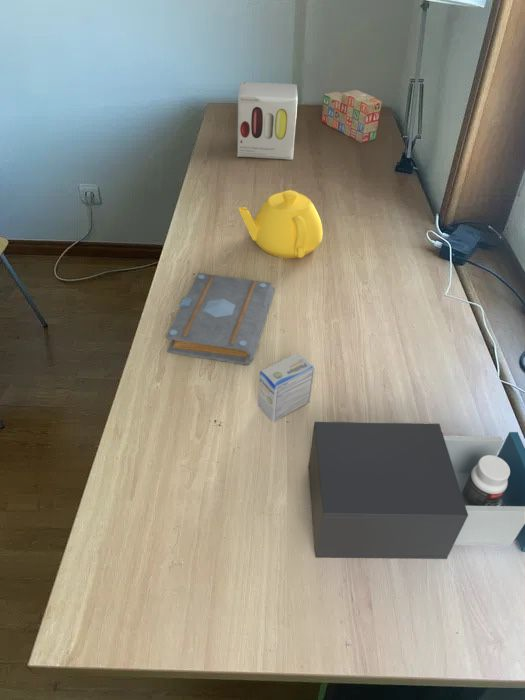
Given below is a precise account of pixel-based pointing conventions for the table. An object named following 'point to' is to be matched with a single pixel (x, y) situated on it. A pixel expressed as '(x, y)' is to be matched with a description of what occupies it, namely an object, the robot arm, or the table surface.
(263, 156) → the supplement box
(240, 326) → the book
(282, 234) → the teapot
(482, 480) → the pill bottle
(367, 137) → the stack of blocks
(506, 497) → the drawer
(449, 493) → the drawer cabinet
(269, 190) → the table surface
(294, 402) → the medicine box
